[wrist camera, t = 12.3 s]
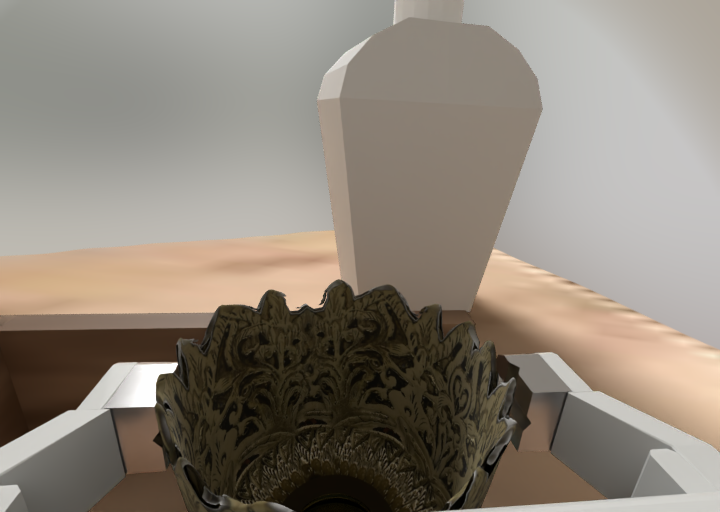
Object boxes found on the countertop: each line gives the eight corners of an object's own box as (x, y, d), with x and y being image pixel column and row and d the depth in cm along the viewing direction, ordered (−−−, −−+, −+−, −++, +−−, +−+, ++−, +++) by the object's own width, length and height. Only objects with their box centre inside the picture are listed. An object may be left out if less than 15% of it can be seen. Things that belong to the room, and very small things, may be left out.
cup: (187, 872, 7) (100, 600, 4) (202, 499, 13) (172, 294, 10) (521, 687, 9) (615, 436, 6) (396, 447, 16) (415, 269, 13)
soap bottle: (440, 263, 37) (483, -67, 27) (501, 315, 28) (595, -153, 18) (313, 270, 34) (313, -97, 24) (333, 331, 25) (346, -218, 15)
